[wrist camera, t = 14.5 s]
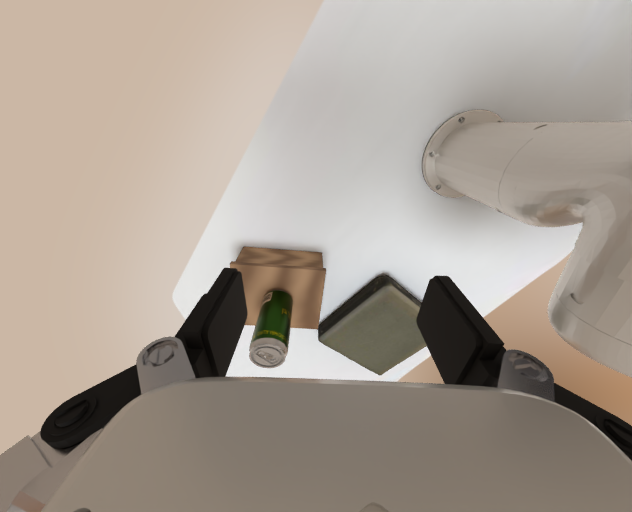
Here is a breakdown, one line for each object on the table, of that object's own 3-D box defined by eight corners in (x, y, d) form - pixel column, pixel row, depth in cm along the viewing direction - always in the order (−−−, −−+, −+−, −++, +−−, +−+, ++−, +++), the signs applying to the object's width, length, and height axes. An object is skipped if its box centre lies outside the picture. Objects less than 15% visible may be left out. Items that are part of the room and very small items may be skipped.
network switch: (310, 331, 57) (310, 348, 53) (371, 263, 47) (377, 277, 43) (382, 363, 64) (387, 380, 59) (449, 308, 54) (461, 325, 49)
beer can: (257, 300, 42) (239, 358, 32) (275, 282, 40) (261, 338, 30) (281, 314, 44) (272, 373, 34) (299, 297, 42) (294, 355, 32)
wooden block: (324, 250, 45) (325, 270, 39) (317, 305, 52) (317, 329, 46) (241, 244, 44) (229, 263, 38) (245, 300, 51) (236, 324, 45)
